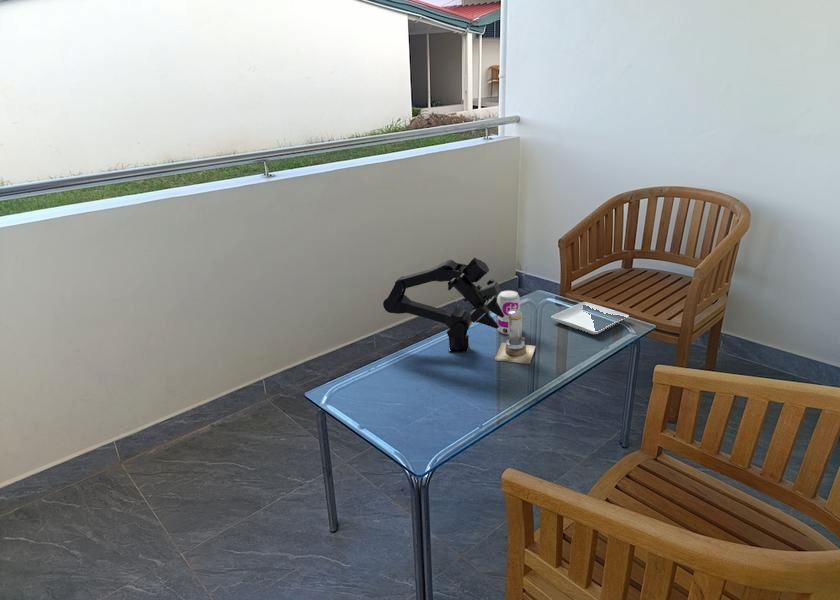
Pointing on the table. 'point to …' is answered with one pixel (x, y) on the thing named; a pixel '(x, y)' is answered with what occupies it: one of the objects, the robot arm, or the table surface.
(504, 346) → the beige square tile
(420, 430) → the table surface
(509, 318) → the grey tall flared piece
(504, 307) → the supplement can
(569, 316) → the salad plate
